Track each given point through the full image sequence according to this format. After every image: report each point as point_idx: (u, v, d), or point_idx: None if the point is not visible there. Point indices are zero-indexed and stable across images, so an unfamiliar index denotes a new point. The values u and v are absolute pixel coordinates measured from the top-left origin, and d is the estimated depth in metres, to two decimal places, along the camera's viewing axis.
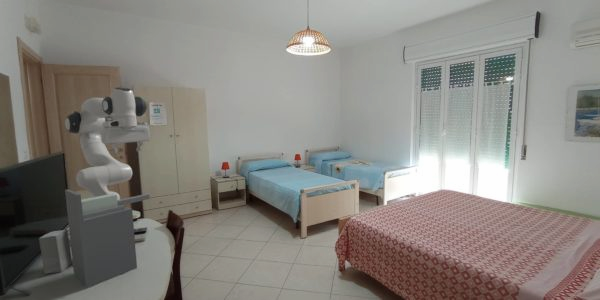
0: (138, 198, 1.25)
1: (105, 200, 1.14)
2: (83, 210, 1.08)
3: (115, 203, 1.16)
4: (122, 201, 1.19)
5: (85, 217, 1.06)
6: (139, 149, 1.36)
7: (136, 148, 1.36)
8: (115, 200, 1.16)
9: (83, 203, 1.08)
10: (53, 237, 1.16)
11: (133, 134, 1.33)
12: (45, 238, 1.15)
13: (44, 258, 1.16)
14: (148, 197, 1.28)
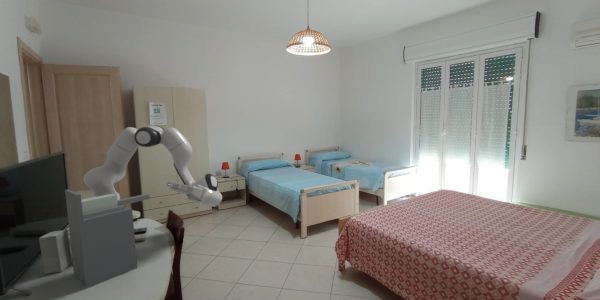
0: (138, 198, 1.25)
1: (105, 200, 1.14)
2: (83, 210, 1.08)
3: (115, 203, 1.16)
4: (122, 201, 1.19)
5: (85, 217, 1.06)
6: (168, 185, 1.41)
7: (171, 183, 1.42)
8: (115, 200, 1.16)
9: (83, 203, 1.08)
10: (53, 237, 1.16)
11: None
12: (45, 238, 1.15)
13: (44, 258, 1.16)
14: (148, 197, 1.28)
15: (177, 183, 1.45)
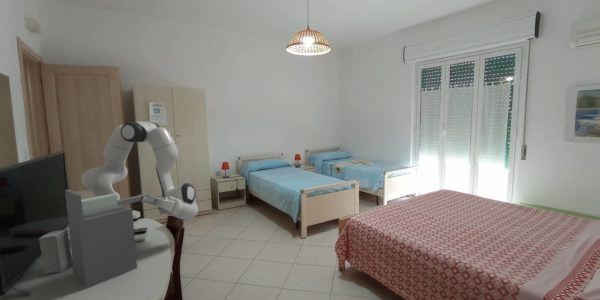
0: (138, 198, 1.25)
1: (105, 200, 1.14)
2: (83, 210, 1.08)
3: (115, 203, 1.16)
4: (122, 201, 1.19)
5: (85, 217, 1.06)
6: None
7: None
8: (115, 200, 1.16)
9: (83, 203, 1.08)
10: (53, 237, 1.16)
11: None
12: (45, 238, 1.15)
13: (44, 258, 1.16)
14: None
15: None
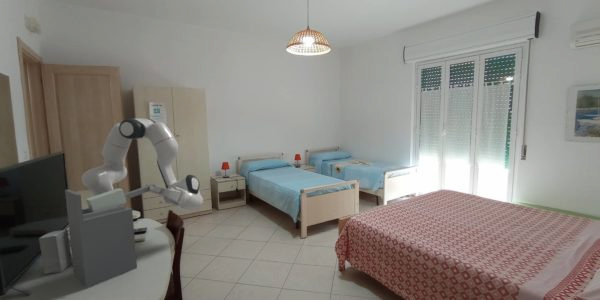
0: (144, 189, 1.27)
1: (113, 196, 1.16)
2: (93, 208, 1.10)
3: (123, 197, 1.19)
4: (129, 194, 1.22)
5: (85, 217, 1.06)
6: None
7: None
8: (122, 194, 1.18)
9: (92, 201, 1.10)
10: (53, 237, 1.16)
11: None
12: (45, 238, 1.15)
13: (44, 258, 1.16)
14: None
15: None
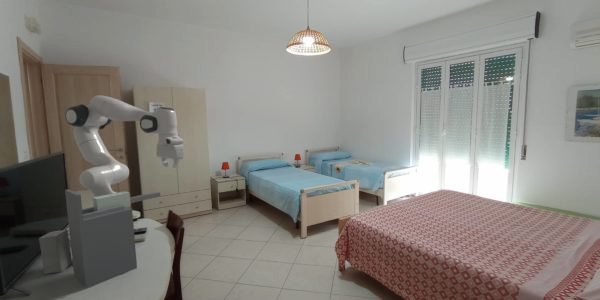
0: (149, 196, 1.28)
1: (119, 197, 1.17)
2: (98, 207, 1.12)
3: (128, 200, 1.20)
4: (134, 198, 1.23)
5: (85, 217, 1.06)
6: None
7: (164, 164, 1.44)
8: (128, 197, 1.20)
9: (98, 200, 1.11)
10: (53, 237, 1.16)
11: None
12: (45, 238, 1.15)
13: (44, 258, 1.16)
14: (159, 195, 1.32)
15: (161, 157, 1.43)
